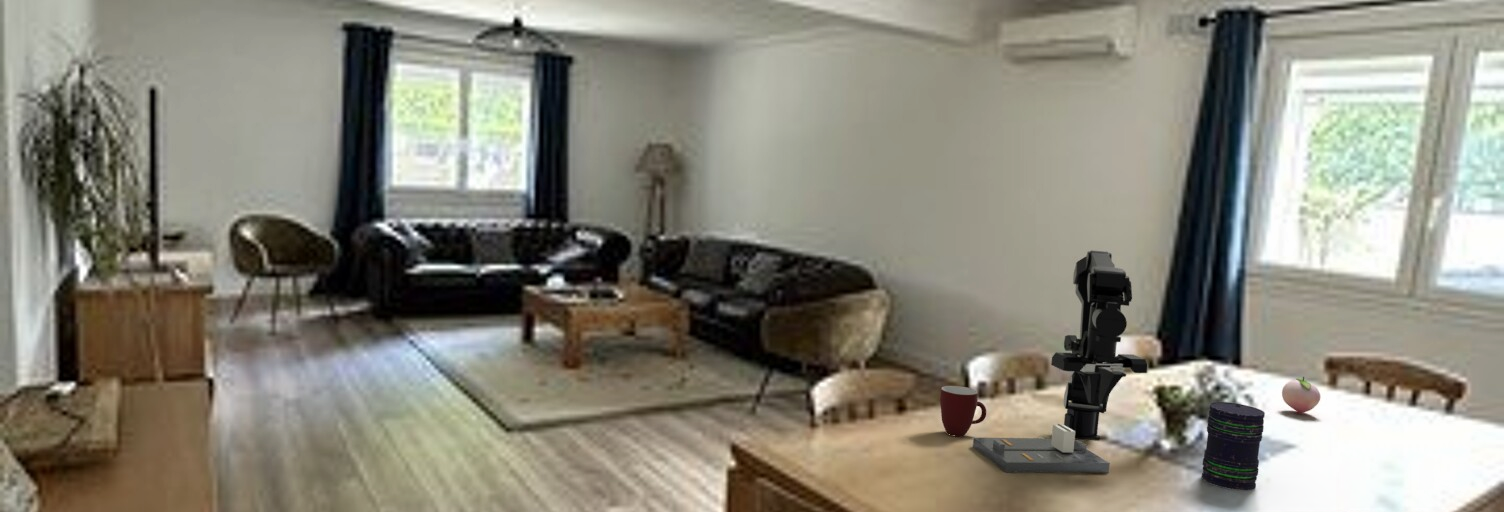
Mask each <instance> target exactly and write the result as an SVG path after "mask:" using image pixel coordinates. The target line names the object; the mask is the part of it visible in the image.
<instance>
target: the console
mask: <svg viewBox="0 0 1504 512" xmlns="http://www.w3.org/2000/svg"><path fill="white" fill-rule="evenodd" d="M1051 441H1052V437H1049V438H1047V437H1045V438H1044V437H1043V438H1041V437H1038V438H1037V437H1033V438H1032V437H973V442H972V447H973V448H974V449H975V450H976V451H978V453H981V455H983V456H984V457H985V458H986V459H988V460H989V461H991V462H992V463H993V464H995V466H997V467H998V468H999V469H1001V470H1002V471H1003V472H1004V473H1051V474H1052V473H1056V474H1057V473H1071V474H1072V473H1074V474H1075V473H1081V474H1082V473H1083V474H1085V473H1086V474H1088V473H1090V474H1091V473H1093V474H1094V473H1095V474H1097V473H1098V474H1099V473H1101V474H1103V473H1104V474H1105V473H1107V474H1108V473H1109V472H1110V462H1109V461H1107V460H1105V459H1104V458H1102V457H1100V456H1099V455H1097V454H1095V453H1093V452H1092V451H1091V450H1089V449H1087V444H1086V443H1084V442H1083V441H1080V439H1075V441H1074V451H1073V452H1061V451H1060V450H1058V449H1057V448H1055V447H1053V446H1052V445H1051Z"/></svg>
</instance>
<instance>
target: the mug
mask: <svg viewBox="0 0 1504 512" xmlns="http://www.w3.org/2000/svg"><path fill="white" fill-rule="evenodd" d="M939 397H940V399H939V402H940V414H941V421H942V424H943V425H942V426H943V427H944V430H945V432H947V433H948V434H947V433H946V434H947V435H949V434H950V435H949V436H951V435H955V436H954V437H957V436H962V437H964V435H967V433H968V432H969V429H970V428H971V426H972V425H977V424H980V423H982V422H983V421H984V420H985V419H986V417H987V408H986V405H985V404H984V403H982V402H981V401H978V400H979V399H978V397H979V391H977V390H976V389H974V388H971V387H967V386H962V385H961V386H960V385H959V386H958V385H946V386H942V387H941V388H940V396H939ZM977 407H979V408H980V409H981V415H980V417H978V419H974V418H975V414H976V412H977V411H976V410H977Z"/></svg>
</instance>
